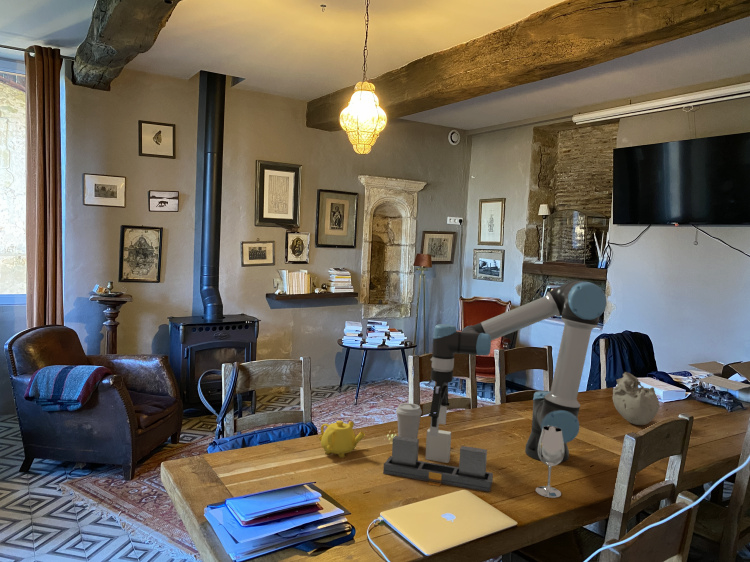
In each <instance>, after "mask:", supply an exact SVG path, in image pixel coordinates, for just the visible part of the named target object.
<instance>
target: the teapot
mask: <svg viewBox="0 0 750 562" xmlns="http://www.w3.org/2000/svg"><path fill="white" fill-rule="evenodd" d="M354 426H355V422H354V421H352V420H349V421H348V423H345V422H344V420H336V422H332V423H330V424H329V423H323V424H321V426H320V434H321V435H319V437H318V440H319V441H320V445H321V446H322V448H323V449H324V451H325V452H324V453H325V455H331V454H335V455H338V457H339V458H345V457H346V456H345V455H346V454H348V453H352V452H353V451H354V449H356V447H357V445H358V443H360V442H361V440H362V439H363V438H365V436H366V433H365V432H363V431H361V430H360V432H359V433H358V434H357V435H356V433H355V431H354V429H353V428H354ZM324 427H327V428H326V429H325V430H324Z"/></svg>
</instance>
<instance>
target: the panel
mask: <svg viewBox="0 0 750 562" xmlns="http://www.w3.org/2000/svg"><path fill="white" fill-rule="evenodd" d="M425 439H426V443H425V460H427V461H434V462H439V463H445V464H447V463H450V460H451V445H452V444H451V443H452V431H449V430H448V431H447V430H443V429H442V430H441V429H439V430H438V437H437V436H431V435H430V428H427V430H426V438H425Z"/></svg>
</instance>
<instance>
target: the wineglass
mask: <svg viewBox="0 0 750 562" xmlns="http://www.w3.org/2000/svg"><path fill="white" fill-rule="evenodd" d="M538 456H539V458H540V459H541V460H540V461H541V462H542V463H543V464H544V465H546V466H547V470H548V471H547V484H546V486H545V485H542V486H538V487H536V488H535V492H536V493H537V494H538V495H540V496H542V497H545V498H550V499H551V498H552V499H554V498H559V497H561V496H562V492H561V491H560V490H559V489H557V488H555V487H552V486H551V476H552V474H551V473H552V468H553V466H554V467H555V466H557V465H559V464H561V463H562V462H561V461H562V460H563V457H564V441H563V434H562V430H561V429H560V428H558V427H554V426H544V427H543V429H542V432H541V436H540V439H539V443H538Z"/></svg>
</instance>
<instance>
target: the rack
mask: <svg viewBox="0 0 750 562" xmlns="http://www.w3.org/2000/svg"><path fill="white" fill-rule="evenodd" d="M419 442H420V439H419V438H417V439H414V438H407V437H400V436H398V435H395V436H393V438H392V447H391V448H392V449H391V452H392V453H391V455H389V457H388V458H387V460H386V461H385V462H383V470H382V471H383V473H382V474H384V475H391V476H395V477H403V478H406V479H412V480H419V481H424V482H427V483H426V484H427V485H430V486H436V487H440V486H441V485H448V486H453V487H459V488H465V489H470V490H475V491H482V492H487V493H490V491H491V488H492V485H493V481H494V480H493V475H494V473H493V472H490V471H486V470H487V457H488V456H487V455H488V450H487V449H485V448H479V447H478V448H477V447H473V446H472V447H471V446H465V445H461V446H460V449H459V460H458V461H459V464H458V466H452V465H448V464H441V463H435V462H429V461H422V460H419V447H420V446H419Z"/></svg>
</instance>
